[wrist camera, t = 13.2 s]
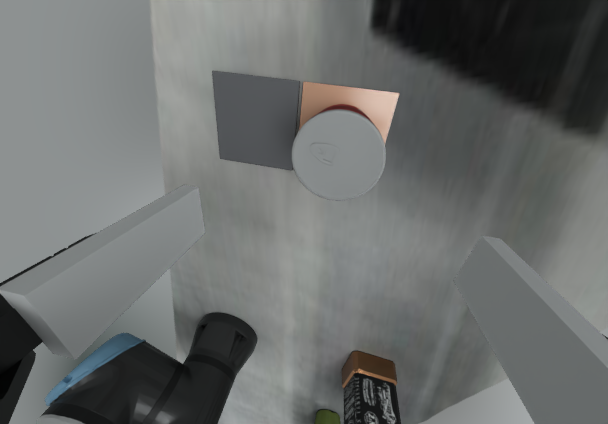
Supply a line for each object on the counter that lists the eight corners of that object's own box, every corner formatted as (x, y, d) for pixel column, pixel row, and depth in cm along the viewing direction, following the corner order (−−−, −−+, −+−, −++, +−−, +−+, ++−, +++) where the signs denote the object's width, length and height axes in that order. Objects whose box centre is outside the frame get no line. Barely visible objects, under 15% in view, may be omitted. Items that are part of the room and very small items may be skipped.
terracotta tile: (373, 182, 30) (373, 183, 30) (296, 170, 31) (295, 171, 31) (398, 93, 25) (399, 93, 24) (304, 81, 26) (303, 81, 25)
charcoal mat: (292, 169, 31) (292, 170, 31) (221, 158, 32) (220, 158, 32) (300, 81, 26) (299, 81, 25) (213, 70, 27) (212, 70, 26)
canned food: (313, 100, 26) (292, 104, 17) (380, 106, 25) (400, 115, 16) (307, 162, 30) (288, 194, 20) (365, 170, 29) (374, 207, 19)
